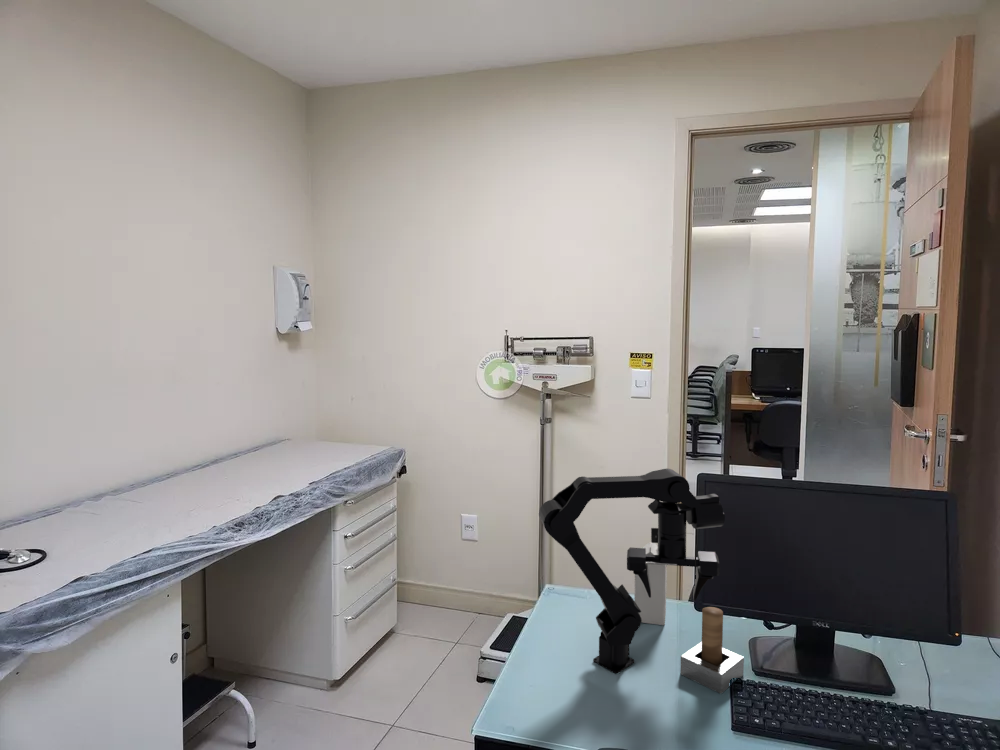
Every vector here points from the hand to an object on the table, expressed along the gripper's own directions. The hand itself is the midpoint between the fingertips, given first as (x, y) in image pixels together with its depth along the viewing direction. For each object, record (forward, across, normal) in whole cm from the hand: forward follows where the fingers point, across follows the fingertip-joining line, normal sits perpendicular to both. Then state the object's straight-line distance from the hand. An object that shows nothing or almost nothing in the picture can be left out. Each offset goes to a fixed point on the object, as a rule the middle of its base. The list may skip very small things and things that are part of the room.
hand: (672, 598), depth 135 cm
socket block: (+13, -8, +7) cm, 16 cm away
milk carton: (+14, +5, -15) cm, 21 cm away
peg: (+12, -8, +7) cm, 16 cm away
